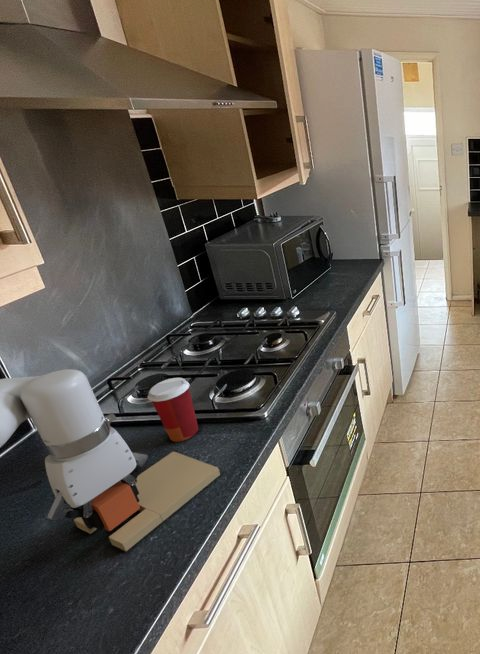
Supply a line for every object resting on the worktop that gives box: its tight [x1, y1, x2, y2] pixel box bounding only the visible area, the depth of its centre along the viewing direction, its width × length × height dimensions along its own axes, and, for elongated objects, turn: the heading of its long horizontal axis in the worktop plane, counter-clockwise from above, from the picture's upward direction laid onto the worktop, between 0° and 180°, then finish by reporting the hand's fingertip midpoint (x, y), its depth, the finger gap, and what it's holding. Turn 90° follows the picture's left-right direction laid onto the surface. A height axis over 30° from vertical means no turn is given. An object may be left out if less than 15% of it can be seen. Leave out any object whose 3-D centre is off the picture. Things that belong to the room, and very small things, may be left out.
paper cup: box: [147, 377, 199, 443], centre depth 99 cm, size 8×8×14 cm
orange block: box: [92, 481, 140, 532], centre depth 78 cm, size 5×5×6 cm
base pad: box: [73, 451, 221, 552], centre depth 84 cm, size 18×14×2 cm
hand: (115, 512), depth 78 cm, fingers closed on orange block, 5 cm apart
